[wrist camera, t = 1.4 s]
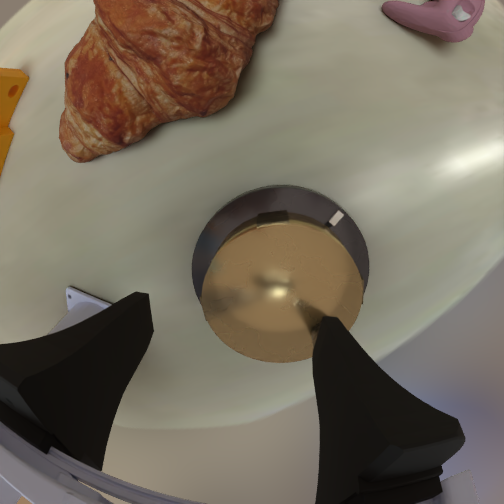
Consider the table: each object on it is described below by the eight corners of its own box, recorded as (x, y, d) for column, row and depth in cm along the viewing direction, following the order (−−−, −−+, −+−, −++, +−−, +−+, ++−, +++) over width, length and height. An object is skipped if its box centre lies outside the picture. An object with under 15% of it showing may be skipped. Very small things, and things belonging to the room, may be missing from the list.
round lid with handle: (186, 290, 20) (154, 353, 14) (268, 180, 17) (266, 205, 10) (289, 354, 22) (293, 422, 16) (377, 269, 19) (417, 327, 12)
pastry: (259, 175, 18) (251, 199, 11) (75, 160, 19) (4, 178, 11) (291, -26, 12) (298, -88, 5) (109, -14, 12) (59, -47, 5)
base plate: (324, 351, 24) (326, 361, 22) (183, 314, 23) (179, 324, 22) (390, 219, 19) (397, 225, 17) (218, 162, 18) (214, 163, 17)
